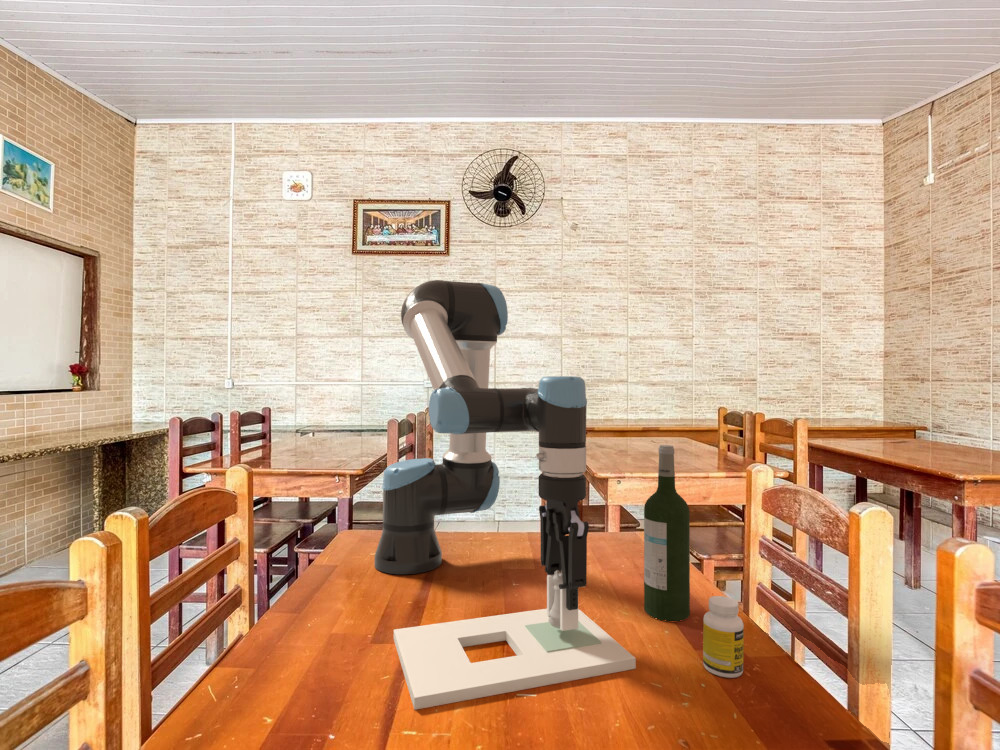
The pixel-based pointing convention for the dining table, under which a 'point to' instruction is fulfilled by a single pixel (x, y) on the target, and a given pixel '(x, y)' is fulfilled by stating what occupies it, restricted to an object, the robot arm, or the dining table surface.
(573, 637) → the hole board
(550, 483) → the robot arm
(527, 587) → the dining table surface
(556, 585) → the rook chess piece
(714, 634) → the supplement bottle
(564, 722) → the dining table surface
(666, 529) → the wine bottle
